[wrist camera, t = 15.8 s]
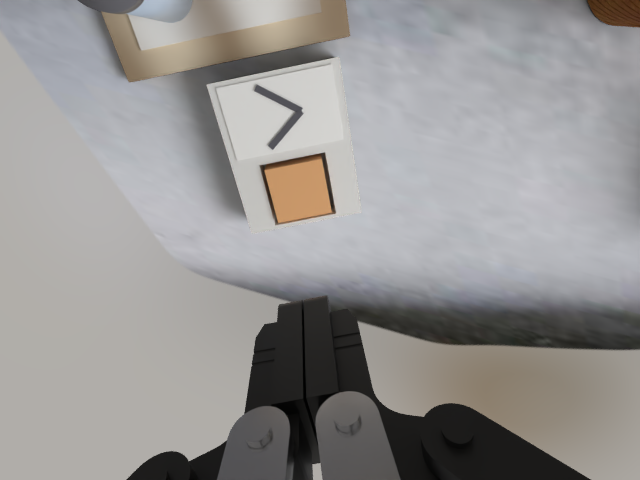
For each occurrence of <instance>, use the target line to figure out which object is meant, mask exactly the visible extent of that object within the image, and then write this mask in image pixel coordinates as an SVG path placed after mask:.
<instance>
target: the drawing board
mask: <svg viewBox="0 0 640 480" xmlns="http://www.w3.org/2000/svg"><path fill="white" fill-rule="evenodd" d="M101 13H102V15H103V18H104V20H105V23H106V25H107V28H108V30H109V33H110V36H111V38H112V41H113V43H114V46H115V48H116V51H117V53H118V56H119V59H120V61H121V64H122V66H123V69H124V71H125V74H126V76H127V79H128V81H129V82H135V81H140V80H145V79H149V78H154V77H159V76H164V75H168V74H173V73H178V72H183V71H187V70H192V69H197V68H202V67H206V66H211V65H216V64H221V63H225V62H230V61H235V60H240V59H244V58H249V57H254V56H259V55H263V54H268V53H273V52H278V51H282V50H287V49H292V48H297V47H301V46H306V45H311V44H316V43H320V42H325V41H330V40H335V39H339V38H344V37H349V36H350V32H349V24H348V16H347V8H346V1H345V0H193V1H192V6H191V9H190V11H189V13H188V14H187V16H186V17H185V18H183V19H182V20H180V21H178V22H174V23H167V22H162V21H157V20H153V19H148V18H143V17H139V16H134V15H129V14H112V13H107V12H102V11H101Z"/></svg>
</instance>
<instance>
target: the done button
mask: <svg viewBox="0 0 640 480" xmlns="http://www.w3.org/2000/svg"><path fill="white" fill-rule="evenodd" d="M264 171H265V174H266V178H267V182H268V186H269V190H270V193H271V197H272V201H273V205H274V209H275V213H276V216H277V220H278V223H281V222H286V221H291V220H296V219H301V218H306V217H311V216H317V215H322V214H327V213H332V211H331V205H330V200H329V195H328V189H327V184H326V178H325V173H324V168H323V162H322V158H321V154H320V153H319V154H314V155H309V156H304V157H299V158H294V159H289V160H284V161H279V162H274V163H269V164H266V167H265V170H264Z"/></svg>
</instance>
